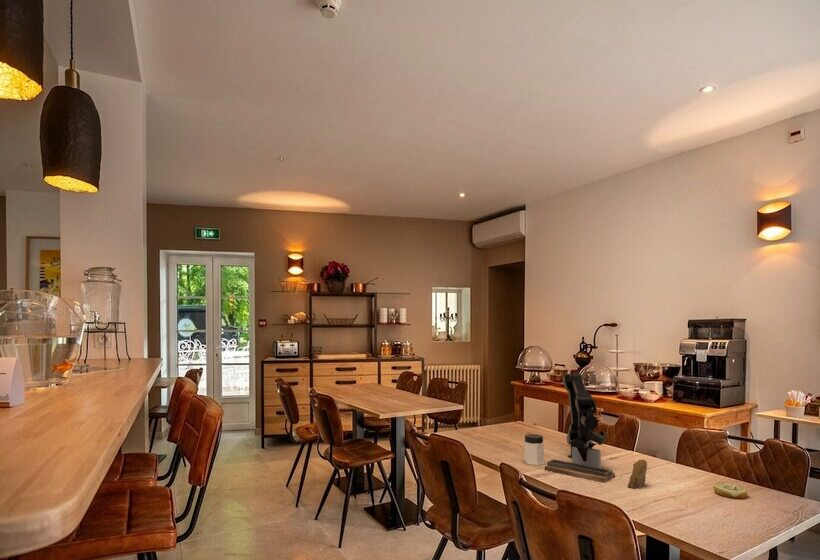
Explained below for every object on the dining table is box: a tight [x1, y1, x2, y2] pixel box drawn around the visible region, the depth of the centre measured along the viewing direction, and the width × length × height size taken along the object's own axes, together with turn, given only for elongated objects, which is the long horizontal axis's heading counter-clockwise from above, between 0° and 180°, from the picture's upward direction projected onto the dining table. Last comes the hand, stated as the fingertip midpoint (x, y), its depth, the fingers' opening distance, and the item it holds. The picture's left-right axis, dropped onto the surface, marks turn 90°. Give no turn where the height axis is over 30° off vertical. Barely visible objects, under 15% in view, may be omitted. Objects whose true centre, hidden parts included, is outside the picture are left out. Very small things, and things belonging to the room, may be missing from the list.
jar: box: [523, 433, 545, 466], centre depth 236 cm, size 9×8×12 cm
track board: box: [544, 458, 616, 483], centre depth 219 cm, size 11×26×3 cm, turn 48°
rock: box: [627, 459, 648, 489], centre depth 204 cm, size 11×9×10 cm
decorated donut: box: [712, 481, 748, 500], centre depth 193 cm, size 10×11×4 cm
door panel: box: [571, 447, 602, 468], centre depth 230 cm, size 2×12×8 cm, turn 48°
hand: (586, 460), depth 230 cm, fingers closed on door panel, 2 cm apart
